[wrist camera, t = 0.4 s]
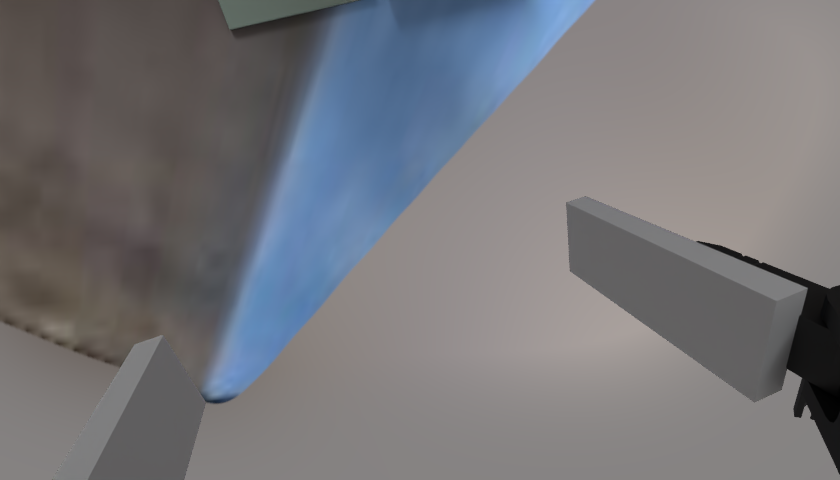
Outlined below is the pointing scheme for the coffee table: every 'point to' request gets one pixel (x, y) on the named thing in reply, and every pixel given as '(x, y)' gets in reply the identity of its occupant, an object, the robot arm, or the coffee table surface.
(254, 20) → the sage mat
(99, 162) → the coffee table surface
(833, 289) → the robot arm
